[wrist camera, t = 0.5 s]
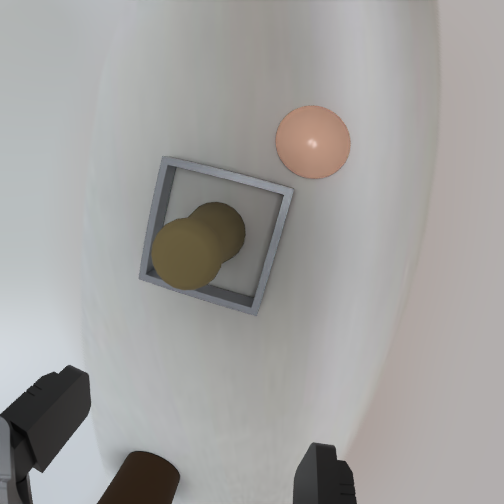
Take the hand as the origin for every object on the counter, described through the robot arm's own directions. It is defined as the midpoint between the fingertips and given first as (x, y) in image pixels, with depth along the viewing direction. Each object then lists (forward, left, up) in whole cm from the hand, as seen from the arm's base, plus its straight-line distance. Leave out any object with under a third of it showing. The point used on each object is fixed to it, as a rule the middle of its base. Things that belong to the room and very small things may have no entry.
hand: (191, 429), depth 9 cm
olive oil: (+40, -7, -24) cm, 47 cm away
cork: (-1, -5, -24) cm, 24 cm away
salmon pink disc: (-12, +2, -23) cm, 26 cm away
